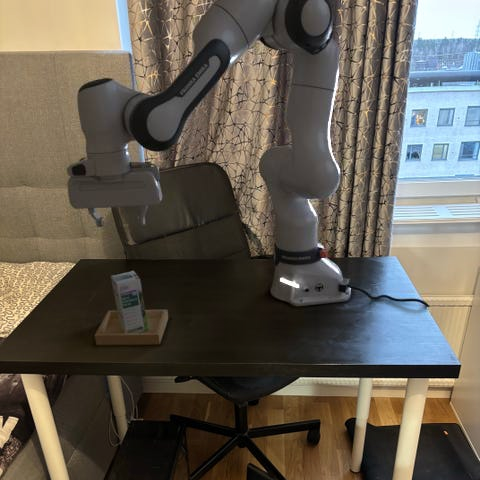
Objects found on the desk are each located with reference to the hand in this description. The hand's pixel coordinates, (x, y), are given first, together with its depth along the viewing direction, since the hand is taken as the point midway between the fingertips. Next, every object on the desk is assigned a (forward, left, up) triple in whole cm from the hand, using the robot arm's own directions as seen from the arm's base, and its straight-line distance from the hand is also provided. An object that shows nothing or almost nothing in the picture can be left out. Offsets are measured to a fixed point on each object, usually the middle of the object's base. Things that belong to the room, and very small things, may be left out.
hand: (121, 225), depth 113 cm
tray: (+1, +1, -27) cm, 27 cm away
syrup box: (+1, +1, -27) cm, 27 cm away
